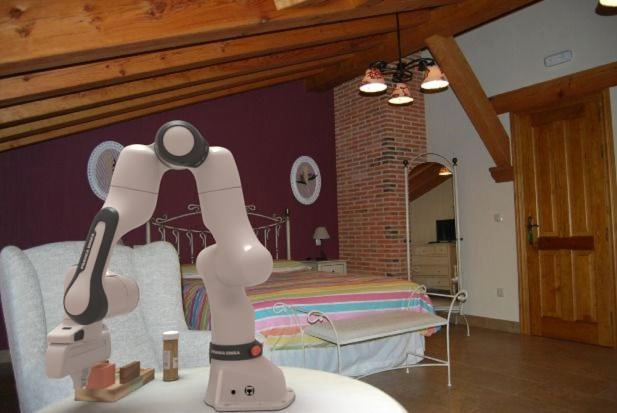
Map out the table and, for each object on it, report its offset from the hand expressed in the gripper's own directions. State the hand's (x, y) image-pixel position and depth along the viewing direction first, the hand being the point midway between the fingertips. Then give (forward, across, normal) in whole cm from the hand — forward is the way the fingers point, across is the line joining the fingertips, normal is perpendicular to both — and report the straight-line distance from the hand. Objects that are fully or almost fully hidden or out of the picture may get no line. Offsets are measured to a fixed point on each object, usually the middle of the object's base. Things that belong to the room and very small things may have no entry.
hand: (80, 387), depth 110 cm
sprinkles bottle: (+5, -25, +11) cm, 28 cm away
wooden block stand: (+5, -15, 0) cm, 16 cm away
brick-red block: (+2, -8, 0) cm, 8 cm away
